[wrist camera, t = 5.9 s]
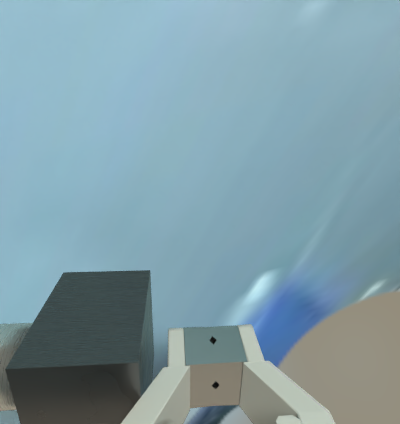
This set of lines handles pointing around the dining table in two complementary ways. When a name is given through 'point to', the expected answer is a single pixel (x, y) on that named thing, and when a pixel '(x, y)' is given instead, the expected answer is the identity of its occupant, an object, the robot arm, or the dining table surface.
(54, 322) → the shaft
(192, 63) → the dining table surface
